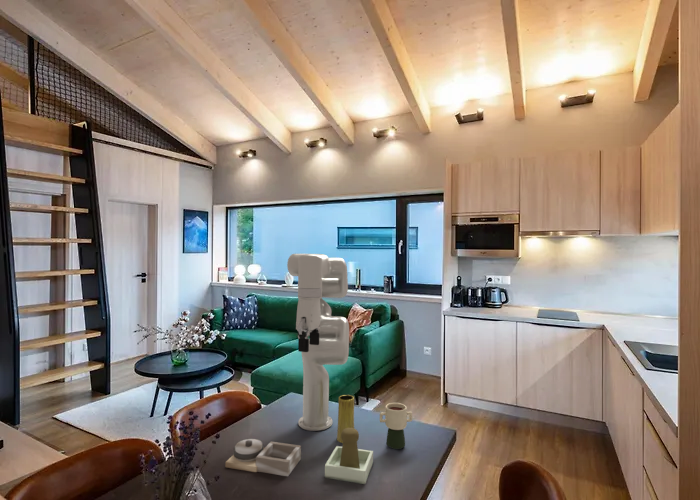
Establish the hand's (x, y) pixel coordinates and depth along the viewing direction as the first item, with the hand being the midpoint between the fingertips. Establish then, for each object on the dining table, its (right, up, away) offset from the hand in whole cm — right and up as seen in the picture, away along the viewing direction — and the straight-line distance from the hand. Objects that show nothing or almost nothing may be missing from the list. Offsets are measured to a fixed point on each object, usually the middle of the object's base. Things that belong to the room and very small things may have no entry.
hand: (309, 348), depth 124 cm
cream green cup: (+28, -34, +6) cm, 44 cm away
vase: (+11, -34, +10) cm, 37 cm away
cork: (+13, -33, -9) cm, 36 cm away
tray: (+13, -33, -9) cm, 37 cm away
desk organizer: (-13, -33, -6) cm, 36 cm away
